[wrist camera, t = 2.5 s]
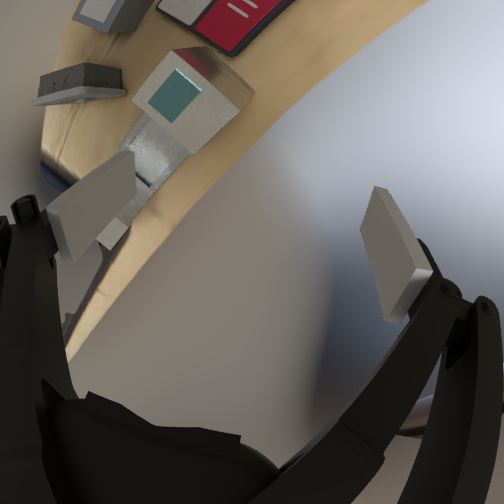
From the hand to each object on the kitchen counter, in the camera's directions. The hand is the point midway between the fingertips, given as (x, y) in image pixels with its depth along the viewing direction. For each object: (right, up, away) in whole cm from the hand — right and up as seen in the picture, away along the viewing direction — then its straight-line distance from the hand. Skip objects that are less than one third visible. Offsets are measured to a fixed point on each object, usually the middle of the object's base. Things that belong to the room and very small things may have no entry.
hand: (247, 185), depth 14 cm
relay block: (-15, +26, +6) cm, 30 cm away
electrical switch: (-20, +19, +13) cm, 31 cm away
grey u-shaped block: (-11, +11, +19) cm, 24 cm away
